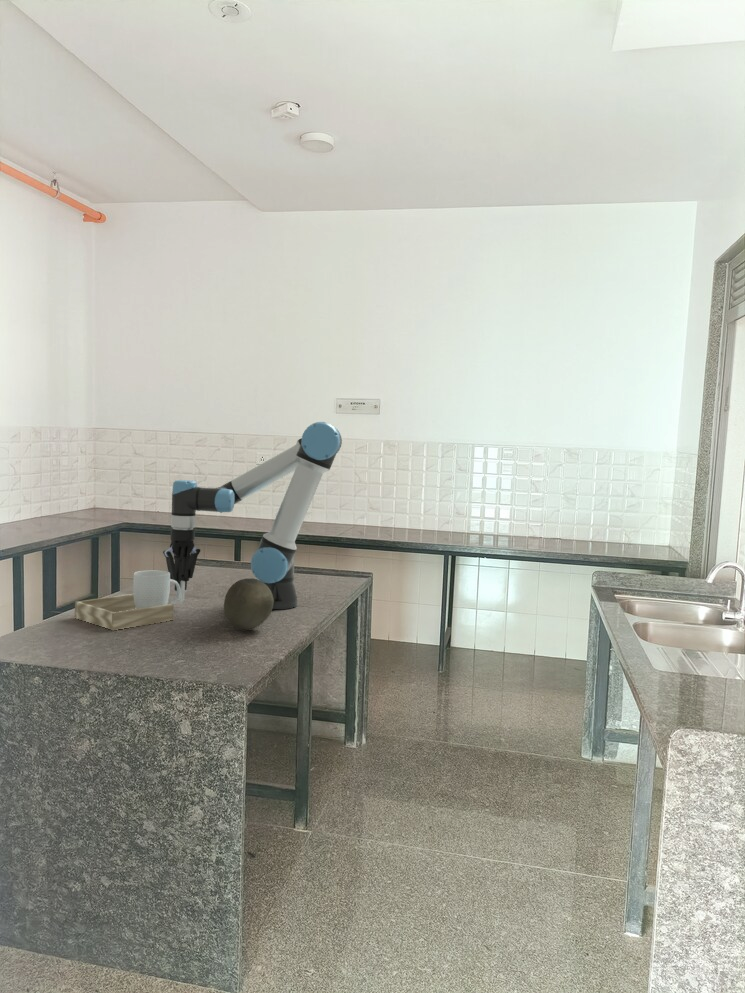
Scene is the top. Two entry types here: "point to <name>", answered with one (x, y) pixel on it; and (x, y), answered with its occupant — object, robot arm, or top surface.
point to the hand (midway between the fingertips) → (180, 600)
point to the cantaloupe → (248, 604)
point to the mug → (153, 588)
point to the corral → (106, 607)
